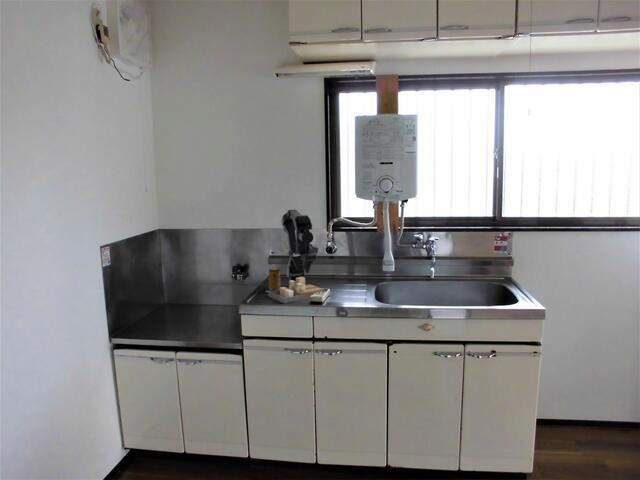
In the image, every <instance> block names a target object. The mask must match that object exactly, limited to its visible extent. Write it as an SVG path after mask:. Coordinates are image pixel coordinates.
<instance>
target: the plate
mask: <svg viewBox="0 0 640 480" xmlns="http://www.w3.org/2000/svg"><path fill="white" fill-rule="evenodd" d="M287 288H288V289H290V288H289V287H287ZM290 290H292V289H290ZM321 291H325V289H324V288H321V287H318V286H316V285H313V284H309V283H308V284H305V290H304V293H300V292H297V291H295V290H293V293H295V294H298V295H300V297H301V301H302V300H307V299H311V298H310V296H311V295H313V294H314V293H316V292H321Z"/></svg>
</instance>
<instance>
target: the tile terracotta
mask: <svg viewBox="0 0 640 480" xmlns="http://www.w3.org/2000/svg"><path fill="white" fill-rule="evenodd" d="M288 288H289V287H285V286H281V288H280V296H282V297H285V290H287V289H288Z"/></svg>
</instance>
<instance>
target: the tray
mask: <svg viewBox="0 0 640 480" xmlns="http://www.w3.org/2000/svg"><path fill="white" fill-rule="evenodd" d="M268 291H269V290H268ZM268 297H269V298H271V299H273V300H275V301H276V302H277V301H278V302H279V303H282V304H283V303H285V304H290V302H291V303H295V302H300V301H302V300H301V297H300V295H298V294H295V293H293V296H292V297H286V298H285V297H282V296H280V290H275V291H269V293H268Z"/></svg>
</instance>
